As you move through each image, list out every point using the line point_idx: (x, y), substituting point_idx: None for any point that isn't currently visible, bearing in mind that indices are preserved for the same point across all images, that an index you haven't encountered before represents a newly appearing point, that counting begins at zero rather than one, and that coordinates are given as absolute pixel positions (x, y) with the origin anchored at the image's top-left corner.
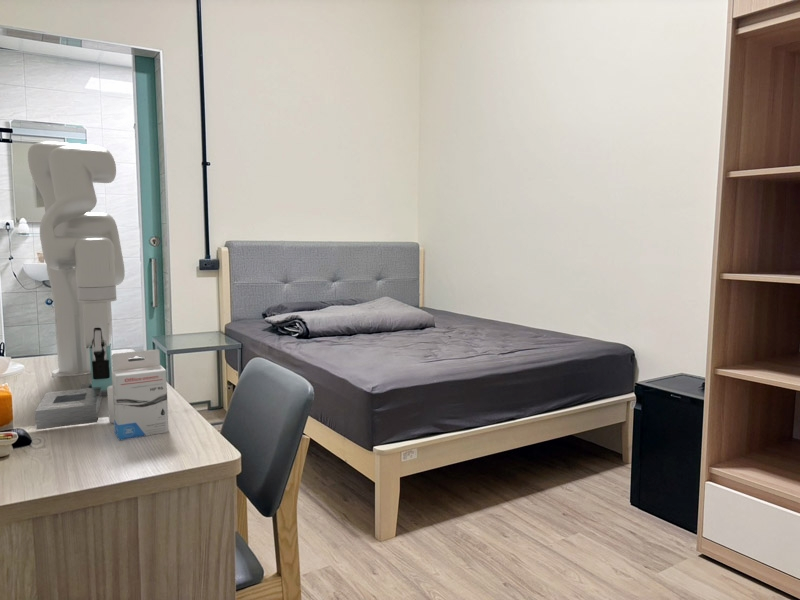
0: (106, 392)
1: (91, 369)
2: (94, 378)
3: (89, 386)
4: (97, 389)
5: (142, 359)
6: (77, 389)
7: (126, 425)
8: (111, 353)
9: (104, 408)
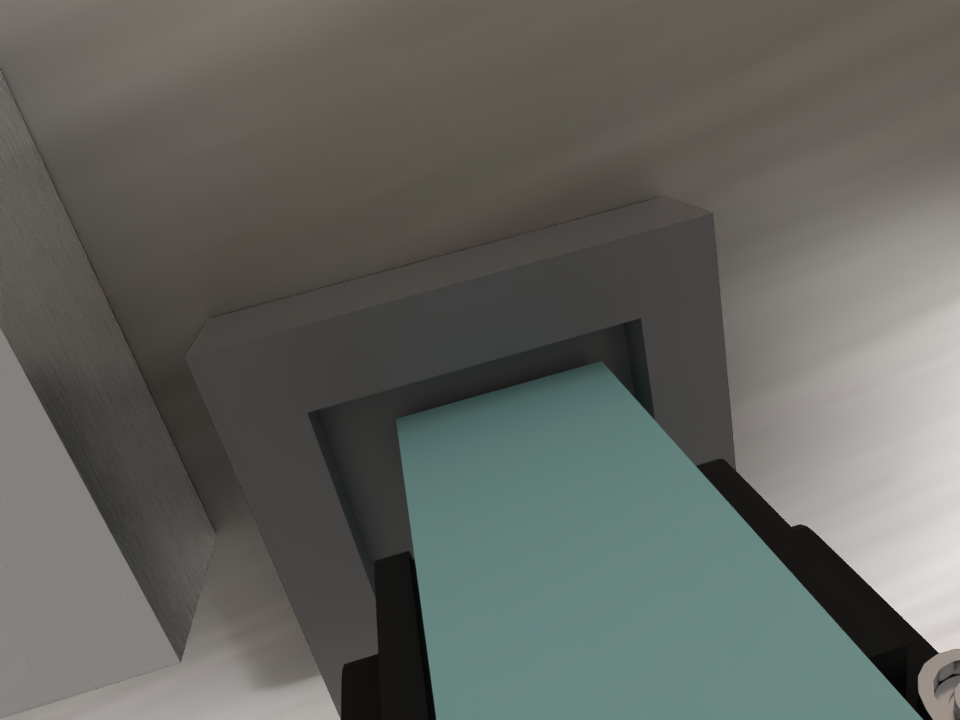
0: (295, 604)
1: (428, 627)
2: (376, 574)
3: (635, 314)
4: (44, 675)
5: None
6: (45, 435)
7: None
8: None
9: None
